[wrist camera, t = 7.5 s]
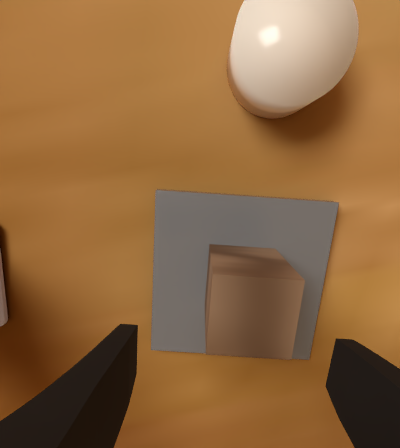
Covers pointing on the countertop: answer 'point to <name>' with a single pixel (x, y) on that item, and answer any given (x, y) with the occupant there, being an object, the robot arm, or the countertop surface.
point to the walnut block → (251, 302)
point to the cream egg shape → (289, 53)
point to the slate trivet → (235, 236)
